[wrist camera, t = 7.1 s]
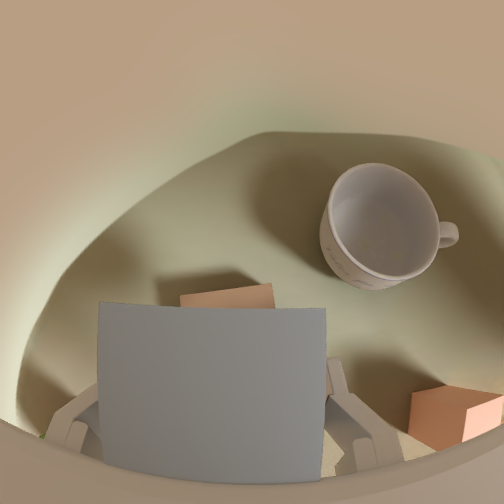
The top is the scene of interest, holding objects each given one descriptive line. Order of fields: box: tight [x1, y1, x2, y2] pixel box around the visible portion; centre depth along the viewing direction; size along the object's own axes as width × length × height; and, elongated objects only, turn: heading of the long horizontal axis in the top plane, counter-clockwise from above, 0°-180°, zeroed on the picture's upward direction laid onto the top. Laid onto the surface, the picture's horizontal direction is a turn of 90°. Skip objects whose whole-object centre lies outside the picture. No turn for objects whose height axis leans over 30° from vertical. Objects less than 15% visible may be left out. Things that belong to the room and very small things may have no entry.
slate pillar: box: [97, 302, 326, 485], centre depth 10 cm, size 5×5×10 cm
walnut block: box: [179, 283, 275, 309], centre depth 26 cm, size 8×8×4 cm
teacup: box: [320, 163, 459, 290], centre depth 26 cm, size 14×11×8 cm
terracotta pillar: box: [408, 385, 504, 451], centre depth 20 cm, size 5×5×10 cm
